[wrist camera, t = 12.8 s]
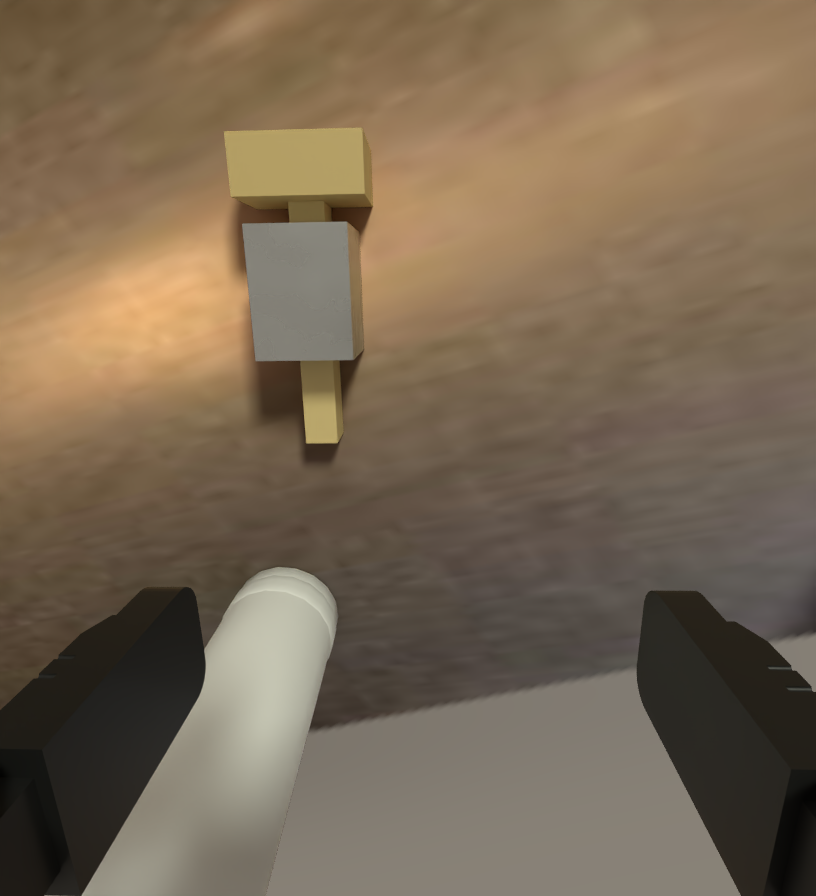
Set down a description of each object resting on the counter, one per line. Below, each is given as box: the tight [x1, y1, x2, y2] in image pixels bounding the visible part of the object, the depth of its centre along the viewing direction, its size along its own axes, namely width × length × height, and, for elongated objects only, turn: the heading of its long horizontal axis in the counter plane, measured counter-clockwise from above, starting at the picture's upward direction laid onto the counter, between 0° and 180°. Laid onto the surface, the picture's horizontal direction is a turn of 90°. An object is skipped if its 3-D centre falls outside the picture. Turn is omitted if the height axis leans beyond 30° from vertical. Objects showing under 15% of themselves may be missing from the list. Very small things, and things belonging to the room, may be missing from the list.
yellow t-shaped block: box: [224, 128, 373, 443], centre depth 31 cm, size 7×17×4 cm, turn 1°
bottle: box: [82, 567, 338, 896], centre depth 25 cm, size 8×8×30 cm
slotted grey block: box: [242, 222, 364, 361], centre depth 30 cm, size 5×7×6 cm
